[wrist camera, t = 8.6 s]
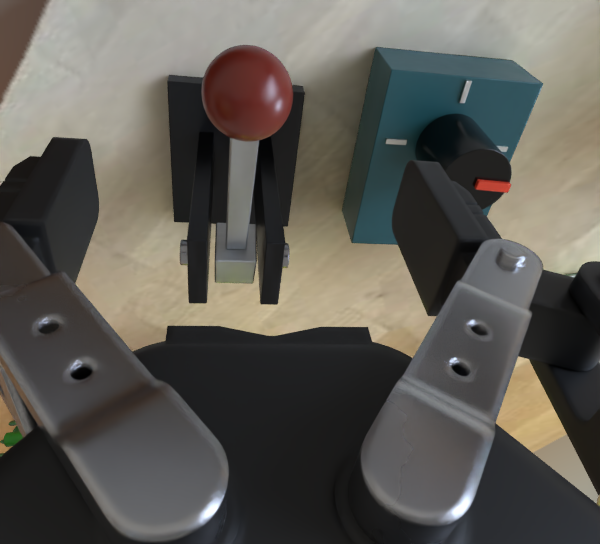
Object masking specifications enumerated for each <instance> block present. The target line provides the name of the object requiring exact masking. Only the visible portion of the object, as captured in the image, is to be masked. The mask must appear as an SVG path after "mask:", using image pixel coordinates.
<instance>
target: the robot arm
mask: <svg viewBox="0 0 600 544" xmlns="http://www.w3.org/2000/svg"><path fill="white" fill-rule="evenodd" d="M98 213H99V198H98V191H97V184H96V178H95V171H94V165H93V159H92V152H91V147H90V144H89V141H88V140H87V139H75V138H59V137H53V138H52V139H51V141H50V143H49V144H48V146H47V148H46V149H45V151H44V153H43V154H42V156H41V157H32V156H30V157H28V158H27V159H25V160H23V161H22V162H20V163H18V164H17V165H15V166H14V167H13V168H12V169H11V171H10V172H9V174H8V175H7V177H6V178H5V181H3V183H2V184H1V186H0V395H1V397H2V399H3V400H4V402H5V404H6V406H7V407H8V409H9V411H10V413H11V414H12V416H13V418H14V420H15V422H16V424H17V426H18V428H19V431H20V433H21V435H22V437H23V438H22V439H21V440H20V441H19V442H17V443H16V444H15V445H14V446H13V447H11V448H10V449H9V450H8V451H7V452H5V453H4V454H3V455H2V456H1V457H0V544H600V363H599V360H600V262H587V263H585V264H583V265H582V266H581V268H580V269H579V271H578V273H577V274H576V276H575V277H571V276H566V275H562V274H558V273H554V272H550V271H546V270H543V264H542V261H541V260H540V258H539V257H538V256H537V255H536V254H535V253H534V252H533V251H531V250H530V249H528V248H527V247H525V246H523V245H521V244H519V243H516V242H513V241H510V240H505V239H502V238H501V237H500V235H499V234H498V232H497V231H496V229H495V228H494V226H493V225H492V224H491V222H490V221H489V219H488V218H487V216H486V215H484V212H483V211H482V209H481V208H480V206H479V205H477V202H476V201H475V199H474V198H473V196H472V195H471V193H470V192H469V191H468V190H466V189H465V188H464V187H462V186H461V185H460V184H458V183H457V182H456V181H451V180H450V178H449V177H448V175H447V174H446V172H445V171H444V169H443V168H442V166H441V165H440V163H438V162H430V161H414V160H411V161H409V162H408V163H407V165H406V167H405V170H404V173H403V177H402V180H401V184H400V187H399V191H398V195H397V198H396V202H395V205H394V209H393V213H392V230H393V234H394V236H395V239H396V241H397V243H398V246H399V248H400V251H401V253H402V255H403V258H404V260H405V262H406V265H407V267H408V269H409V272H410V274H411V277H412V279H413V281H414V284H415V286H416V288H417V291H418V293H419V295H420V298H421V300H422V303H423V305H424V307H425V310H426V312H427V314H428V316H437V317H436V319H435V321H434V322H433V324H432V326H431V328H430V329H429V331H428V333H427V335H426V336H425V338H424V340H423V342H422V343H421V345H420V347H419V349H418V350H417V352H416V354H415V355H414V357H413V358H411V357H410V356H408V355H406V354H404V353H402V352H400V351H398V350H396V349H393V348H391V347H388V346H385V345H382V344H379V343H374V342H372V340H371V337H370V333H369V330H368V327H318V328H313V329H308V330H303V331H298V332H293V333H288V334H283V335H278V336H266V335H261V334H256V333H251V332H246V331H241V330H235V329H230V328H225V327H220V326H168V327H167V335H166V341H164V342H159V343H155V344H152V345H149V346H145V347H143V348H141V349H138V350H136V351H133V352H132V351H131V350H130V349H129V347H128V346H127V345H126V344H125V343H124V342H123V340H122V339H121V338H120V337H119V336H118V334H117V333H116V332H115V331H114V330H113V329H112V327H111V326H110V325H109V324H108V323H107V321H106V320H105V319H104V318H103V317H102V315H101V314H100V313H99V312H98V311H97V310H96V308H95V307H94V306H93V305H92V304H91V302H90V301H89V300H88V299H87V298H86V296H85V295H84V294H83V293H82V292H81V291H80V289H79V288H78V287H77V286H76V285H75V282H76V280H77V277H78V274H79V271H80V268H81V265H82V263H83V260H84V257H85V254H86V251H87V248H88V246H89V243H90V240H91V237H92V234H93V231H94V229H95V226H96V223H97V220H98ZM518 356H520V357H524V358H528V359H529V360H530V362H531V364H532V366H533V368H534V370H535V372H536V374H537V376H538V378H539V380H540V382H541V384H542V386H543V388H544V390H545V392H546V394H547V396H548V398H549V399H550V401H551V403H552V405H553V407H554V409H555V411H556V413H557V415H558V417H559V419H560V421H561V423H562V425H563V427H564V429H565V431H566V433H567V435H568V437H569V439H570V440H571V442H572V444H573V446H574V448H575V450H576V452H577V454H578V456H579V458H580V460H581V462H582V464H583V466H584V468H585V470H586V472H587V474H588V476H589V478H590V480H591V482H592V484H593V486H594V488H595V489H596V491H597V493H598V495H599V497H598V500H597V504H596V503H595V502H594V501H592V500H591V499H590V498H589V497H587V496H586V495H585V494H584V493H582V492H581V491H580V490H578V489H577V488H576V487H575V486H573V485H572V484H571V483H570V482H568V481H567V480H566V479H565V478H563V477H562V476H561V475H560V474H558V473H557V472H556V471H555V470H553V469H552V468H551V467H550V466H548V465H547V464H546V463H545V462H543V461H542V460H541V459H540V458H538V457H537V456H536V455H534V454H533V453H532V452H531V451H530V450H528V449H527V448H526V447H525V446H523V445H522V444H521V443H519V442H518V441H517V440H516V439H514V438H513V437H512V436H511V435H509V434H508V433H507V432H506V431H504V430H503V429H502V428H501V427H499V426H498V425H497V424H496V419H497V416H498V413H499V410H500V408H501V405H502V402H503V399H504V396H505V393H506V390H507V387H508V384H509V381H510V378H511V375H512V372H513V369H514V366H515V363H516V360H517V357H518Z"/></svg>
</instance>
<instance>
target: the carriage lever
mask: <svg viewBox="0 0 600 544" xmlns="http://www.w3.org/2000/svg"><path fill="white" fill-rule="evenodd" d="M201 92H202V102H203V106H204V109H205V112H206V114H207V116H208V118H209V119H210V121H211V122H212V124H213V125H214V126H215V127H216V128H217V129H218V130H219V131H220V132H222V133H223V134H225V135H226V136H228V137H230V149H229V174H228V198H227V223H216V242H215V282H216V283H253V281H254V274H255V268H256V262H257V250H256V224H249V222H250V214H251V205H252V197H253V189H254V180H255V172H256V163H257V155H258V146H259V140H262V139H265V138H267V137H269V136H271V135H272V134H274V133H275V132H277V131H278V130H279V129H280V128H281V127H282V126H283V124H284V123H285V121H286V120H287V118H288V116H289V113H290V111H291V107H292V103H293V88H292V83H291V79H290V76H289V74H288V72H287V70H286V68H285V67H284V65H283V64H282V63H281V62H280V60H279V59H278V58H277V57H276V56H274V55H273V54H272V53H270V52H269V51H267V50H265V49H263V48H260V47H257V46H252V45H239V46H234V47H231V48H229V49H227V50H225V51H223V52H222V53H220V54H219V55H218V56H216V57H215V59H214V60H213V61H212V62H211V63H210V65H209V66H208V68H207V70H206V72H205V75H204V78H203V82H202V91H201Z"/></svg>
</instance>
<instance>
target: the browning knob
mask: <svg viewBox="0 0 600 544" xmlns="http://www.w3.org/2000/svg"><path fill="white" fill-rule="evenodd" d="M415 154H416V159H417V161H430V162H438V163H440V165H441V166H442V168H443V169H444V171H445V172H446V174H447V175H448V177H449V178H450V180H451V181H456V182H457V183H458V184H460V185H461V186H462V187H464V188H465V189H466V190H468V191H469V192H470V193H471V195H472V196H473V198H474V199H475V201H476V202H477V205H479V206H480V208H481V209H482V210H483V209H485V208H487V207H489V206H490V205H492V204H493V203H494V202H496V201H497V200H498V199H499V198H500V197H501V196H502V195H503V193H504V192H507V193H508V191H509V189H510V187H511V184H510V179H511V165H510V162H509V160H508V159H507V157H506V156H505V155H504V154H503V153H502V152H501V151H500V149H499V148H498V147H497V146H496V145H495V144H494V143H493V141H492V140H491V139H490V138H489V137H488V136H487V135H486V133H485V132H484V131H483V130H482V129H481V128H480V127H479V125H478V124H477V123H476V122H475V121H474V120H473V119H472V118H470V117H469V116H466V115H464V114H456V113H455V114H447V115H444V116H441V117H439V118H437V119H435V120H434V121H432V122H431V123H430V124H429V125H427V126H426V127H425V129H424V130H423V131H422V133H421V134H420V136H419V138H418V140H417V143H416V149H415Z"/></svg>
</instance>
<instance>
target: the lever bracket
mask: <svg viewBox="0 0 600 544" xmlns="http://www.w3.org/2000/svg"><path fill="white" fill-rule="evenodd" d="M202 82H203V78H199V77H187V76H175V75H169V78H168V81H167V84H168V105H169V126H170V147H171V168H172V189H173V210H174V222H188V223H189V227H188V236H187V240H181V243H180V264H181V265H188V294H189V303H207V292H208V274H209V256H210V238H211V223H213V224H216V223H227V198H228V174H229V149H230V137H228V136H226V135H225V134H223V133H222V132H220V131H219V130H218V129H217V128H216V127H215V126H214V125H213V124H212V122H211V121H210V119H209V118H208V116H207V114H206V112H205V109H204V106H203V102H202V92H201V91H202ZM292 88H293V103H292V107H291V111H290V113H289V116H288V118H287V120H286V121H285V123H284V124H283V126H282V127H281V128H280V129H279V130H278V131H277V132H275V133H274V134H272V135H271V136H269V137H267V138H265V139H262V140H259V146H258V155H257V163H256V172H255V180H254V189H253V197H252V205H251V214H250V222H249V224H256V239H257V255H258V272H259V288H260V303H261V304H278V299H279V291H280V283H281V275H282V268H287V267H288V265H289V245H288V244H287V243H285V237H284V229H283V226H288V221H289V213H290V205H291V198H292V190H293V182H294V174H295V166H296V158H297V150H298V142H299V135H300V127H301V119H302V111H303V103H304V95H305V92H304V89H303V86H294V85H292Z"/></svg>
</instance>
